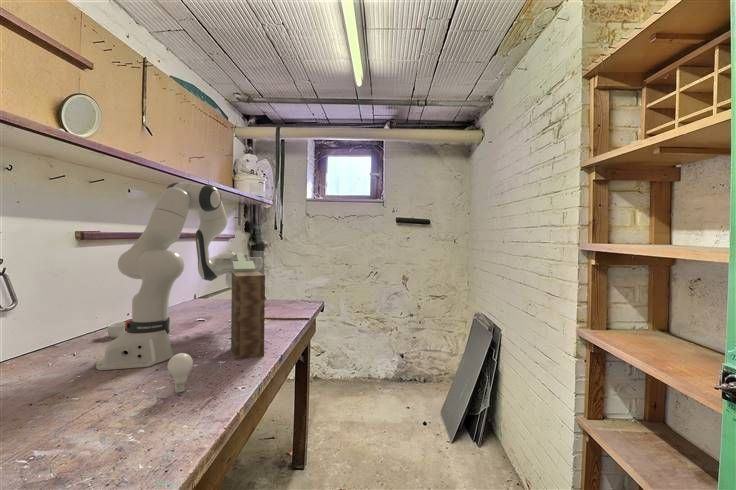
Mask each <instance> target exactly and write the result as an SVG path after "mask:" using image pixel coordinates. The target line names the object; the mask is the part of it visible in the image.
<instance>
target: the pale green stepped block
mask: <svg viewBox="0 0 736 490" xmlns="http://www.w3.org/2000/svg"><path fill="white" fill-rule="evenodd" d="M235 253H236V255H237V261H233V263H232V267H233V271H234V272H256V268H255V265H254V263H253V261H246V259H245V256H244V255H245V254H244V252H235Z"/></svg>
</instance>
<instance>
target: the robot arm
mask: <svg viewBox="0 0 736 490" xmlns="http://www.w3.org/2000/svg"><path fill="white" fill-rule="evenodd" d="M189 211H193V212H197V215H198V218H199V226H198V229H197V230H196V232H195V245H196V254H197V272H198V274H199V276H200V278H201V279H202V280H204V281H208V282H210V281H211V282H212V281H214V280H215V279H217V278H219V277H221V276H223V275H224V274H225V284H226V286H227V287H228V288H230V289H232V272H234V271H233V267H232V263H233V261H237V255H236V253H237V252H233V250H232V251H231V250H226V251H223V252H220V253H218V254H217V255H214V256H212V257H210V253H209V252H210V251H209V246H210V244H211V242H213V240H214V239H215V238H216V237H218V236H219V235H220V234H222V233H223V232H224V230H225V229H226V227H227V225H228V217H227V213H226V210H225V207H224V204H223V201H222V194H221V193H220V191H219V190H218V188H216V187H215V186H213V185H208V184H206V185H205V184H200V183H195V182H173V183H171V184H168V186H167V187H166V189H165V190H163V191H162V193H161V195H160V197H159V198H158V200H157V202H156V203H155V205H154V208H153V210H152V212H151V215H150V218H149V220H148V223H147V225H146V227H145V228H144V230H143V232H142V233H141V235H140V236H139V238H138V239H137V240H136V241H135V242H134V244H133V245H132V246H131V247H129V249H128V250H126V251H125V252H123V253H122V254H121V255H120V256H119V258H118V261H117V267H118V270H119V272H120V273H121V274H122V275H124V276H125V277H126V276H127V277H129V278H131V279H134V280H135V279H136V280H142V281H141V285H140V289H139V290H138V292H137V293H136V294H135V295H133V297H132V300H131V302H132V303H131V310H132V311H131V319H126V321H124V322H125V331H126V332H124V333H123V334H122V335H120V336H119V337H118V338H114V340H112V341H110V343H109V344H108V346H107V347H106V349H105V352H104V356H103V357H101V358H99V359H98V360H97V362H96V363H95V364H96V365H95V369H96V370H98V371H109V370H121V369H136V368H148V367H152V366H154V365H157V364H158V363H159V364H160V363H161V362H165V361H168V360H170V359H171V357H173V356H174V352H173V349H172V345H171V340H170V332H171V320H170V316H169V309H170V307H169V306H170V305H169V304H170V301H169V300H170V295H171V292H172V291H171V290H172V288H173V285H174V283H175V282H176V281H177V279H178V278H180V276H181V275H182V274H183V272H184V269H185V262H184V259H183V257H182V256H181V255H180V254H179V253H177V252H173V251H171V250H168V248H170V247H171V246H172V245H173V244H175V243H176V242H177V241H179V239H180V238H181V237H180V236H181V234H182V232H183V228H184V225H185V222H186V220H187V217H188V213H189ZM244 256H245V259H246V261H253V263H254V265H255V268H256V272H259V271H260V270H261V269H262V268H263V265H264V262H263V261H264V260H263V258H262V257H260V256H256V257H255V256H253V257H251V256H250V257H249V254H244Z"/></svg>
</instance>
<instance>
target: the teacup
mask: <svg viewBox="0 0 736 490" xmlns="http://www.w3.org/2000/svg"><path fill="white" fill-rule="evenodd" d="M125 322H126V321H120V322H119V321H118V322H113V323H109V324H107V327H106V328H107V334H108V336H109V337H110V338H112V339H116V338H118V337H119V336H120V335H122V334H123V333H124V332H126V331H125Z"/></svg>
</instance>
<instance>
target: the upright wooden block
mask: <svg viewBox="0 0 736 490" xmlns="http://www.w3.org/2000/svg"><path fill="white" fill-rule="evenodd" d="M265 295H266V275H265V274H263V273H262V272H259V271H258V272H232V288H231V306H230V308H231V311H230V312H231V314H230V315H231V316H230V317H231V318H230V321H231V323H230V326H231V327H230V336H231V337H230V349H231V352H232V355H233V358H234V360H236V361H239V360H245V359H252V358H253V359H254V358H260V357H265V317H266V316H265V313H266V311H265V310H266V309H265V302H266V299H265V297H266V296H265Z"/></svg>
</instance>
